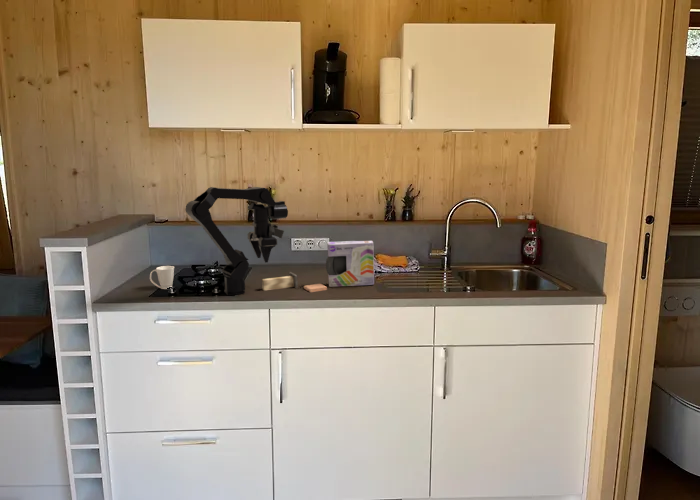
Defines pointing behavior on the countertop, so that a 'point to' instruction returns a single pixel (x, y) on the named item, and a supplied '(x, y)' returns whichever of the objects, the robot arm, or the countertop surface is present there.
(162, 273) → the cup
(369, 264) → the cake pan box
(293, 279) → the beige block with plate
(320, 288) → the tile
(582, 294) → the countertop surface
